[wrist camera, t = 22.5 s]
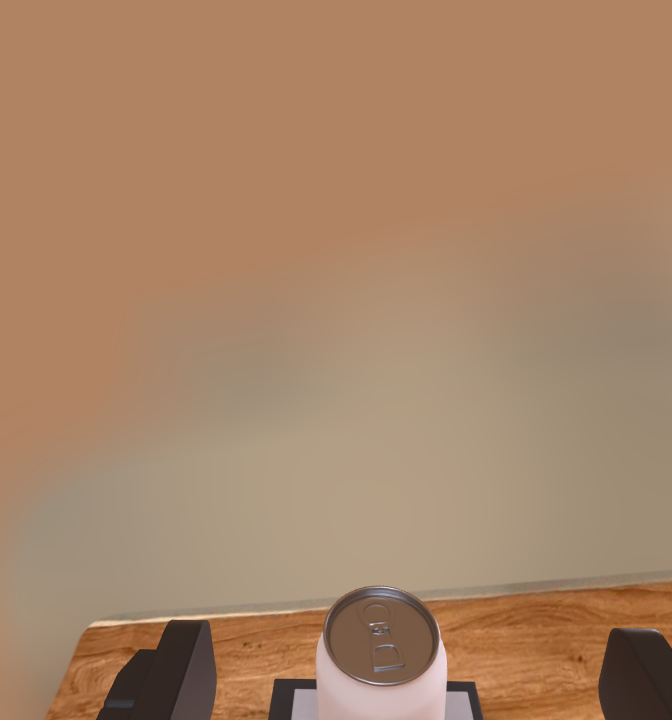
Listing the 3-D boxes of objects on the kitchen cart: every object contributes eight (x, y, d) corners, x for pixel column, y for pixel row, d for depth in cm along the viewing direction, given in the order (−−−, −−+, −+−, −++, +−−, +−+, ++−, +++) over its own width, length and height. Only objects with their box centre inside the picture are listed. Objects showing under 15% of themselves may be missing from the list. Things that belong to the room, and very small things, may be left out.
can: (420, 724, 32) (427, 573, 28) (455, 853, 26) (470, 683, 22) (317, 739, 31) (309, 586, 27) (328, 874, 25) (320, 703, 21)
